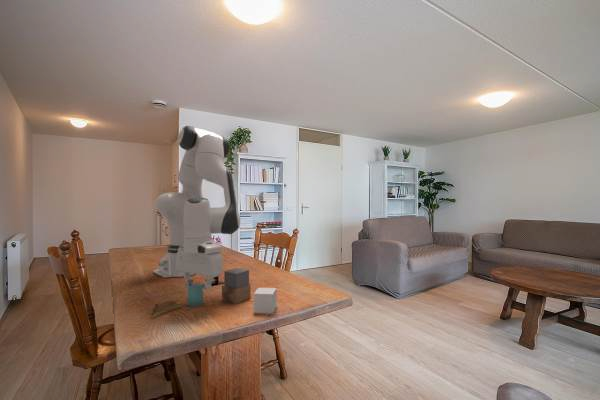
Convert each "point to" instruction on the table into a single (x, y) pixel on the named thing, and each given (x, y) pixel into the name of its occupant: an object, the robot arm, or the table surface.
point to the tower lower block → (236, 293)
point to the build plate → (215, 282)
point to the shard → (165, 307)
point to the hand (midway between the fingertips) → (198, 287)
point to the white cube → (265, 300)
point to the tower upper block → (236, 278)
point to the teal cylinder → (195, 295)
